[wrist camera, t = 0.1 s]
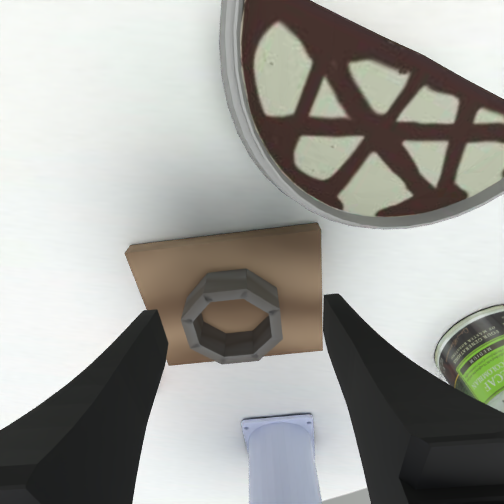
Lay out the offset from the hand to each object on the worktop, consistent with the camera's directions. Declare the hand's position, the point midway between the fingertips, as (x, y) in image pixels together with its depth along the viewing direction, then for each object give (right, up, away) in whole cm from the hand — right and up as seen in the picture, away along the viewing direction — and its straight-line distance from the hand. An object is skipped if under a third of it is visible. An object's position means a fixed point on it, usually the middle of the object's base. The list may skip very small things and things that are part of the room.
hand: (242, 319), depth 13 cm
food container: (+4, +11, +6) cm, 13 cm away
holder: (-1, -1, +12) cm, 12 cm away
